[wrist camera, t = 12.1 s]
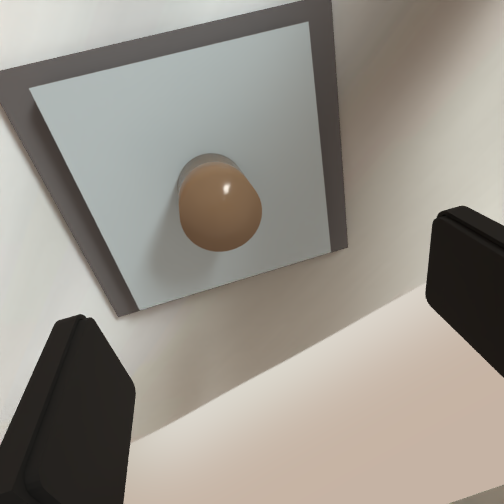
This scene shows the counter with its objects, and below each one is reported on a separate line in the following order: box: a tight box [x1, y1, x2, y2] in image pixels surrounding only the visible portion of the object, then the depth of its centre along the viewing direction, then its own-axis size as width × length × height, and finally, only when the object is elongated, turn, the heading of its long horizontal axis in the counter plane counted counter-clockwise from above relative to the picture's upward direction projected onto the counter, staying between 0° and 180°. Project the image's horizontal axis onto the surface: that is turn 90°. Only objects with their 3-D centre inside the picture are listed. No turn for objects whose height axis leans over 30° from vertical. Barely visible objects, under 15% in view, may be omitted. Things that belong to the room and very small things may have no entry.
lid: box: [29, 22, 331, 310], centre depth 19 cm, size 14×14×6 cm
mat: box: [0, 0, 348, 317], centre depth 21 cm, size 18×16×1 cm
